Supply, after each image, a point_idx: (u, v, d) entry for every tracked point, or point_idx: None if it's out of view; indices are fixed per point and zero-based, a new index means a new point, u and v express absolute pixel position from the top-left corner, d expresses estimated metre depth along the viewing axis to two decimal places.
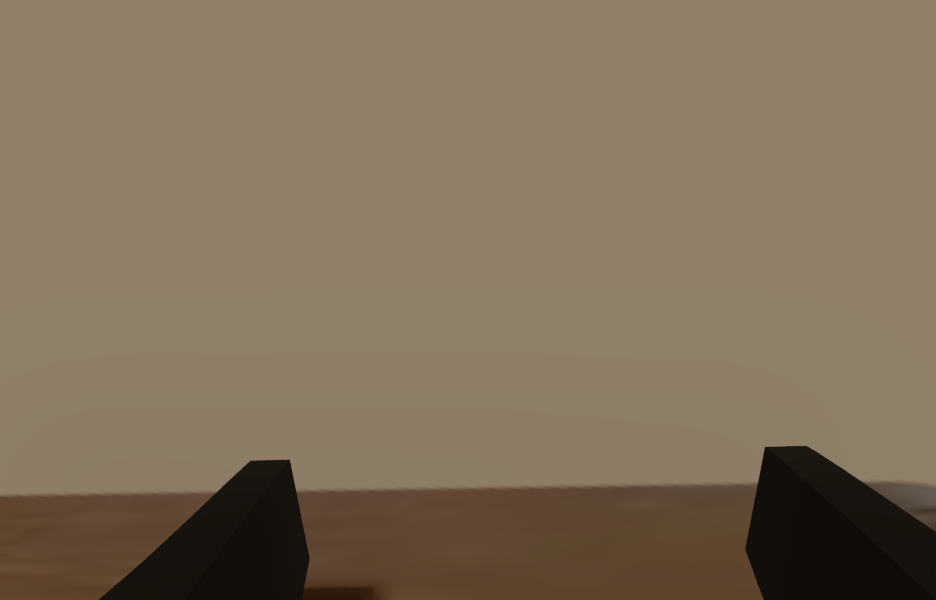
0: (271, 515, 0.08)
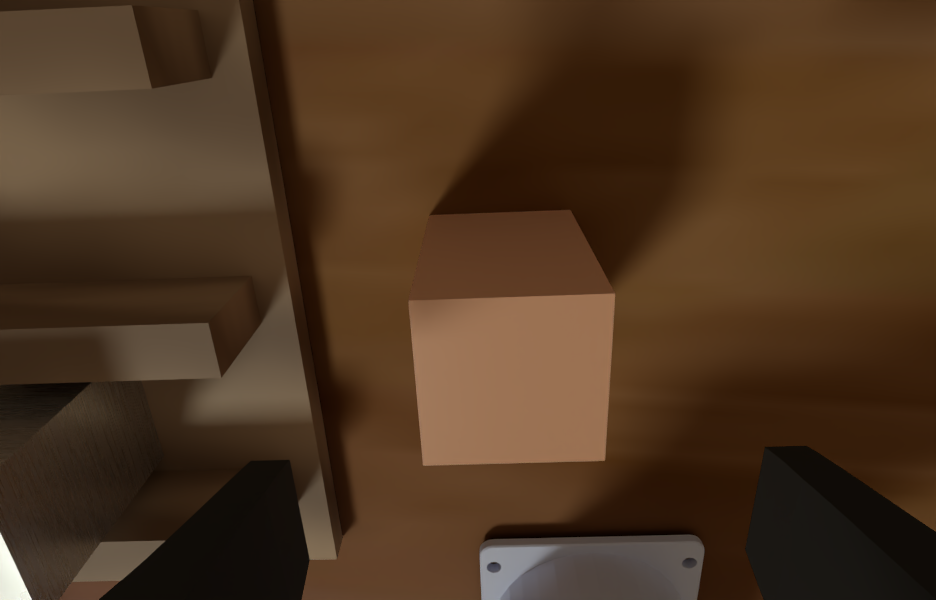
0: (271, 515, 0.08)
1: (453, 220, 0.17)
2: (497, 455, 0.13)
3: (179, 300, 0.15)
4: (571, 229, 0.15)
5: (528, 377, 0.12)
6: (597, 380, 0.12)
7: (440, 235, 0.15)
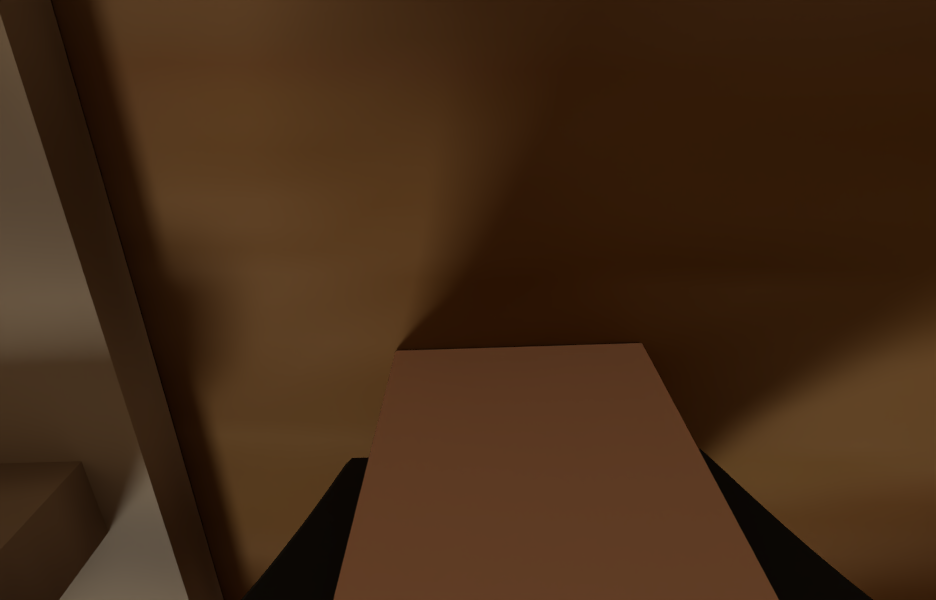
0: None
1: (436, 369, 0.09)
2: None
3: None
4: (659, 408, 0.08)
5: None
6: None
7: (408, 420, 0.08)
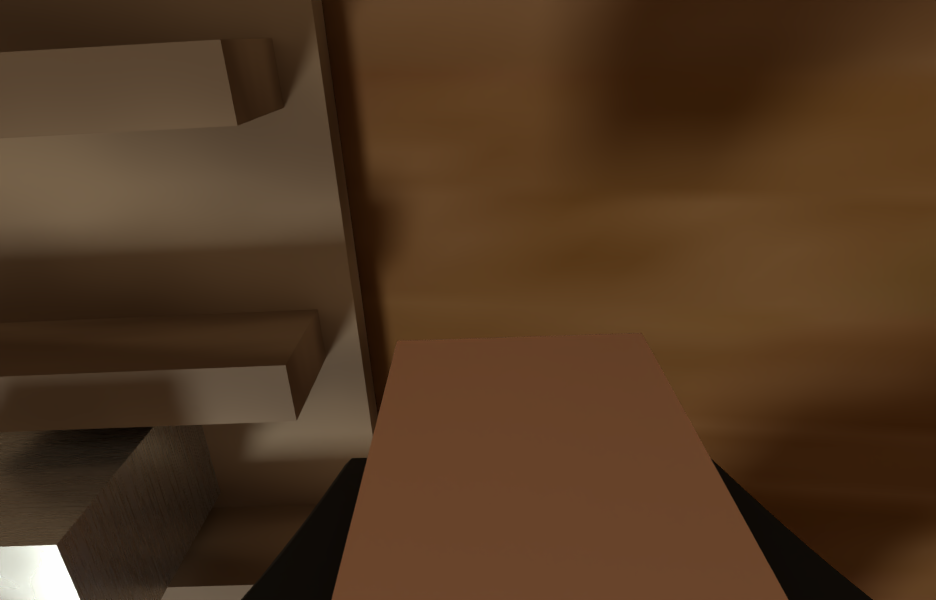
0: None
1: (437, 358, 0.09)
2: None
3: (248, 338, 0.15)
4: (658, 396, 0.08)
5: None
6: None
7: (410, 407, 0.08)
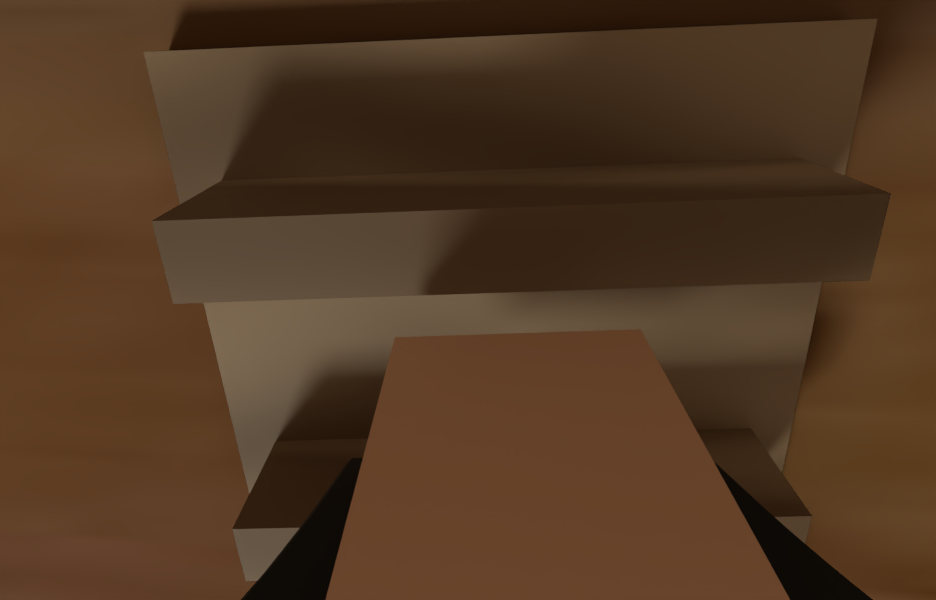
0: None
1: (435, 355, 0.09)
2: None
3: None
4: (657, 392, 0.08)
5: None
6: None
7: (409, 403, 0.08)
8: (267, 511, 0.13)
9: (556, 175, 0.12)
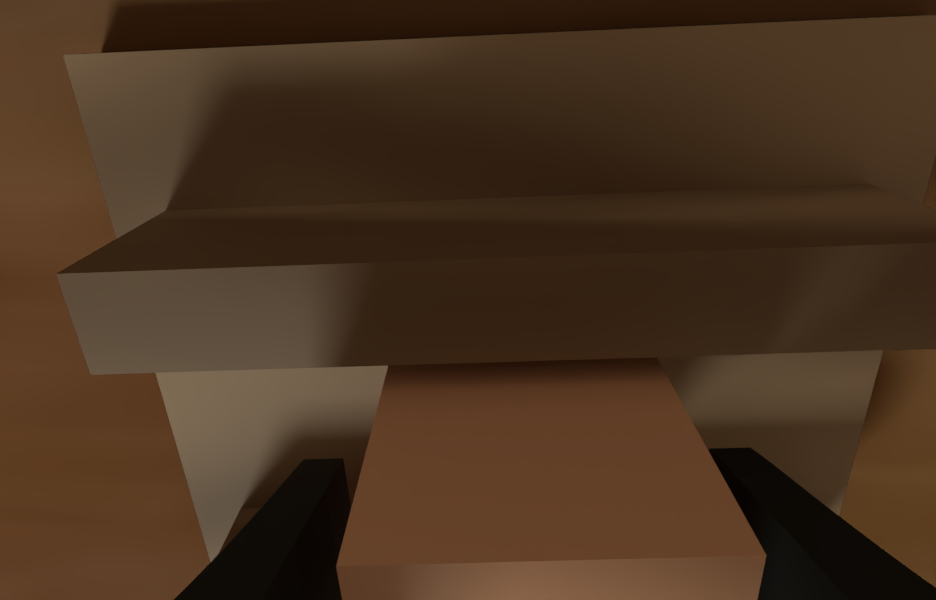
0: (330, 514, 0.08)
1: None
2: None
3: None
4: None
5: None
6: None
7: None
8: None
9: (573, 207, 0.10)
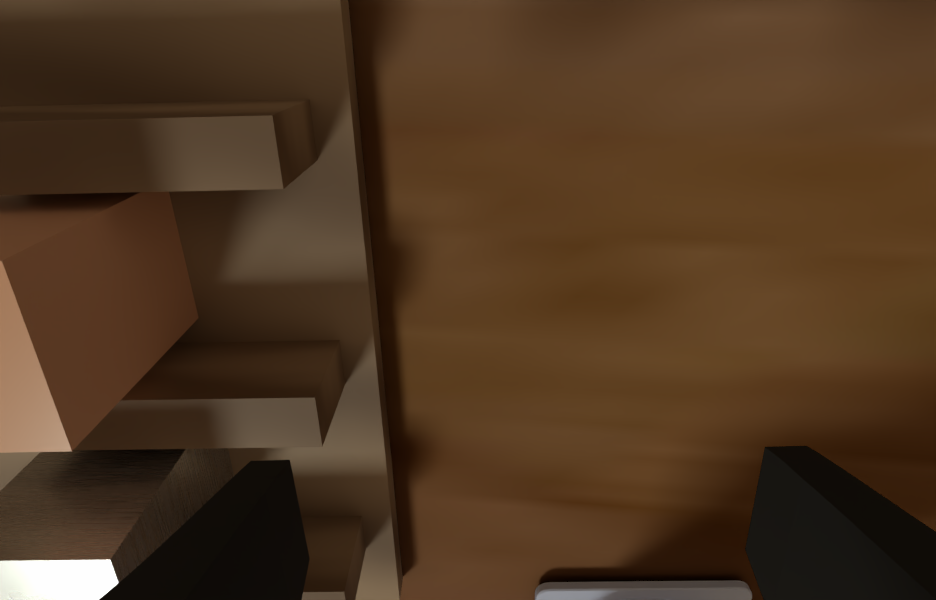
0: (271, 515, 0.08)
1: None
2: None
3: (278, 369, 0.16)
4: (118, 198, 0.14)
5: None
6: (24, 360, 0.11)
7: None
8: None
9: (88, 107, 0.14)
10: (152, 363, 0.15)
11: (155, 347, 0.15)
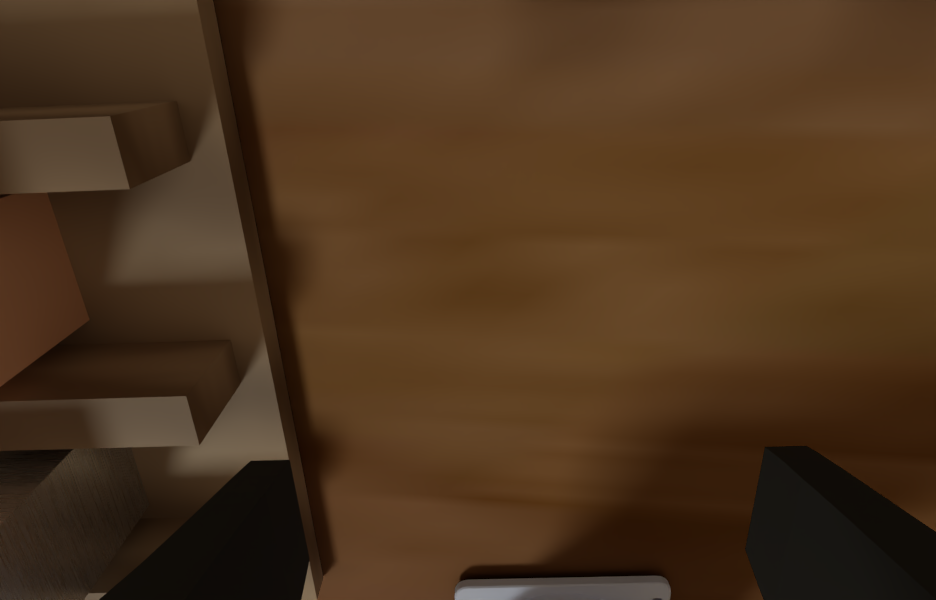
0: (271, 515, 0.08)
1: None
2: None
3: (160, 368, 0.16)
4: None
5: None
6: None
7: None
8: None
9: None
10: (25, 364, 0.15)
11: (29, 348, 0.15)
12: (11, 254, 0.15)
